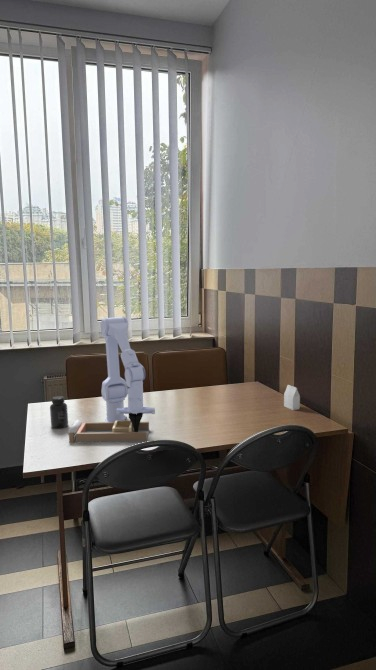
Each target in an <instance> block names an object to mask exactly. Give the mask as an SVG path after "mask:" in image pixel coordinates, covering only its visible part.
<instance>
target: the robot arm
mask: <svg viewBox="0 0 376 670" xmlns="http://www.w3.org/2000/svg"><path fill="white" fill-rule="evenodd" d="M128 330H129V320H128V318H127V317H126V316H119V317H103V318H102V319H101V322H100V333H101V338H103V339H104V340H105V353H106V362H107V363H106V366H107V378H106V379H105V380H103V381H102V384H101V397H102V399H103V400H104V401H105V411H106V419H105V421H104V422H115V421H122V420H126V418H127V415H128V420H130V421H131V423H132V425H133V428H134V432H138V428H139V424H140V422H142V418H143V416H144V414H146V415H148V414H151V415H156V414H155V413H156V408H155V407H149V406H144V387H143V386H144V385H143V384H144V382H143V381H144V380H145V379H146V370H145V367H144V366H143V365H142V364H141V363H140V361H139V360H138V357H137V355H136V351H135V350H134V349H132V348H131V344H130V341H129V338H128V334H127V333H128ZM119 348H120V350H121V353H120V355H119ZM119 356H120V358H121V362H122V365H123V367H124V378H122V377H121V375H120V374H121V372H120V359H119ZM126 398H127V401H128V402H127V407H125V406H124V405H125V403H124V401H125V400H126ZM126 414H127V415H126Z"/></svg>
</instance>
